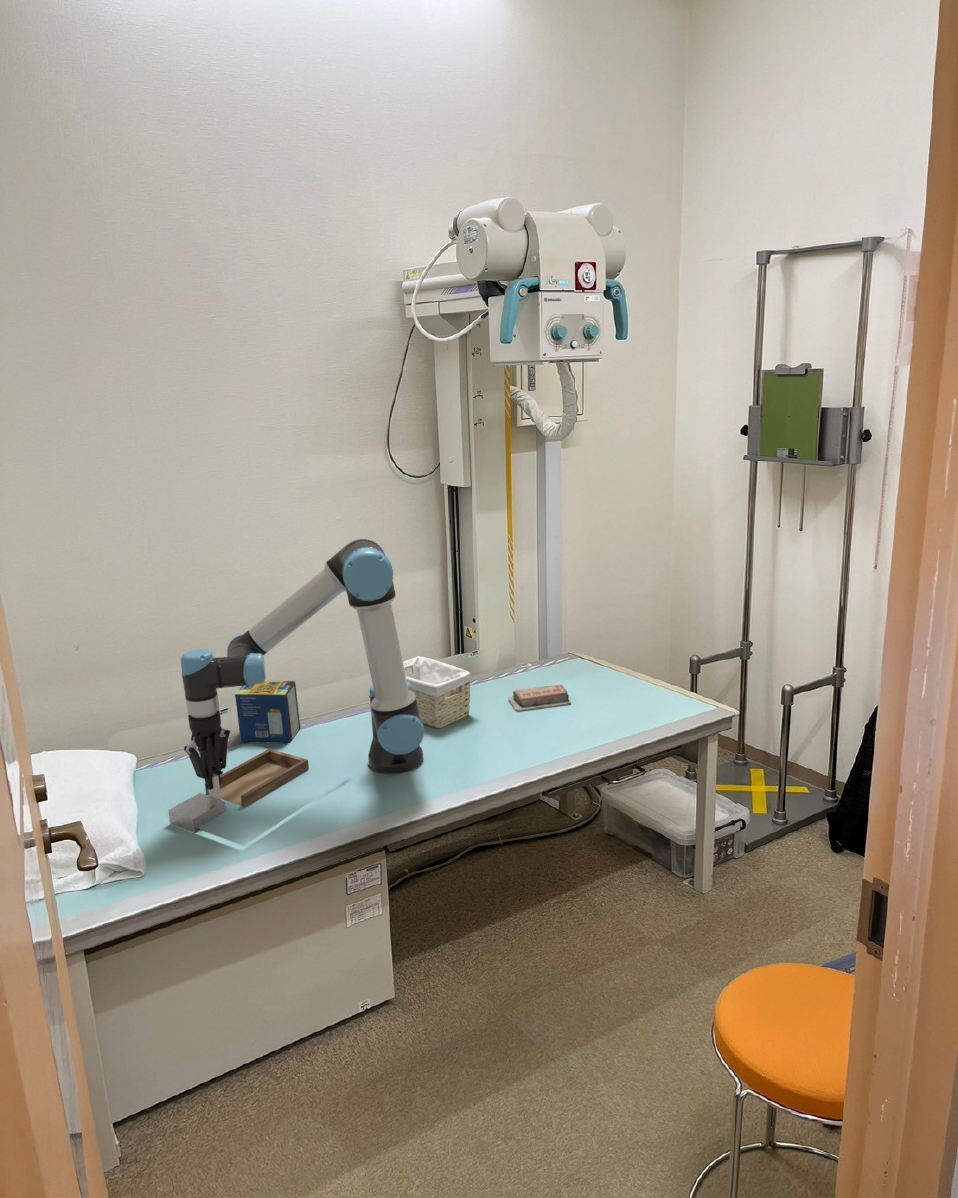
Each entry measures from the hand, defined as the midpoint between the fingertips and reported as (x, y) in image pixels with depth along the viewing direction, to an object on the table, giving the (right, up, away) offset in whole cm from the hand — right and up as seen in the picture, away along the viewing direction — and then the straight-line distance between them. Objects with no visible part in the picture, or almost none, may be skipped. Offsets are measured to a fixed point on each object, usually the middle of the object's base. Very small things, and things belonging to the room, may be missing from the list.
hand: (215, 798), depth 231 cm
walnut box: (+8, +1, +12) cm, 14 cm away
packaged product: (+85, +17, +59) cm, 105 cm away
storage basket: (+51, +14, +53) cm, 75 cm away
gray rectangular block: (-3, -5, -4) cm, 7 cm away
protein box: (+4, +9, +43) cm, 44 cm away
